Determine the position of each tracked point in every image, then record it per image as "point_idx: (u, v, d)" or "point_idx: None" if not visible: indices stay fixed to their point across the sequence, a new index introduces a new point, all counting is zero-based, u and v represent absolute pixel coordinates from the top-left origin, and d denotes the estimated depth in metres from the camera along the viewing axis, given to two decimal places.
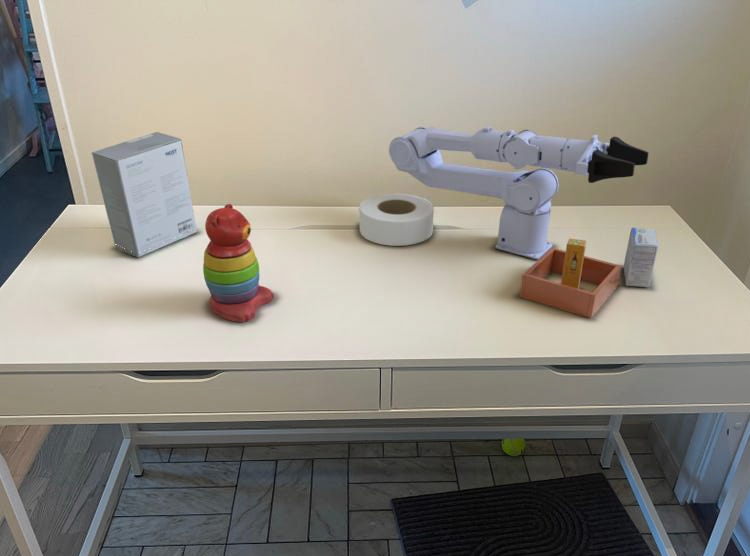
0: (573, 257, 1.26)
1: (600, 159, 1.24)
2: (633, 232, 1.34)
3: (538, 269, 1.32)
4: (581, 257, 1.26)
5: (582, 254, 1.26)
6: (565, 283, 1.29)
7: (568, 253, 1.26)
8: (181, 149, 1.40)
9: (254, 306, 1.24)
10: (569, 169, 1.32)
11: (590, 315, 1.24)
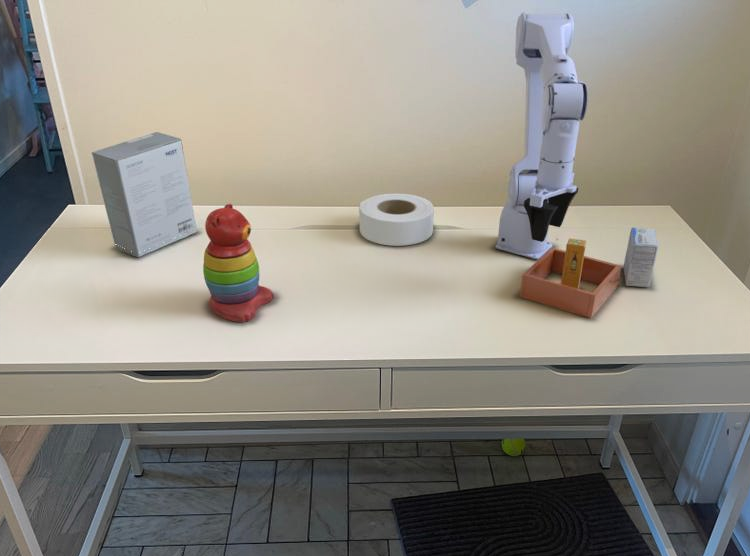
0: (573, 257, 1.26)
1: (546, 215, 1.21)
2: (633, 232, 1.34)
3: (538, 269, 1.32)
4: (581, 257, 1.26)
5: (582, 254, 1.26)
6: (565, 283, 1.29)
7: (568, 253, 1.26)
8: (181, 149, 1.40)
9: (254, 306, 1.24)
10: (540, 166, 1.21)
11: (590, 315, 1.24)
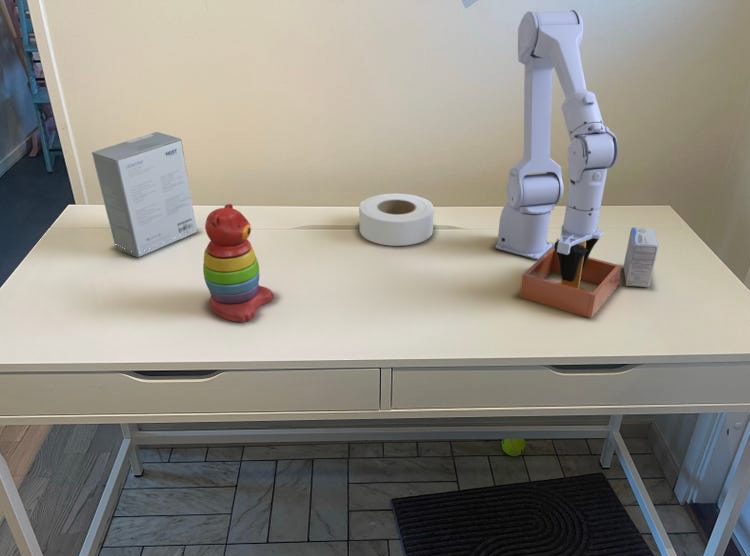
0: None
1: (576, 258, 1.23)
2: (633, 232, 1.34)
3: (538, 269, 1.32)
4: None
5: None
6: (565, 283, 1.29)
7: None
8: (181, 149, 1.40)
9: (254, 306, 1.24)
10: (566, 212, 1.23)
11: (590, 315, 1.24)
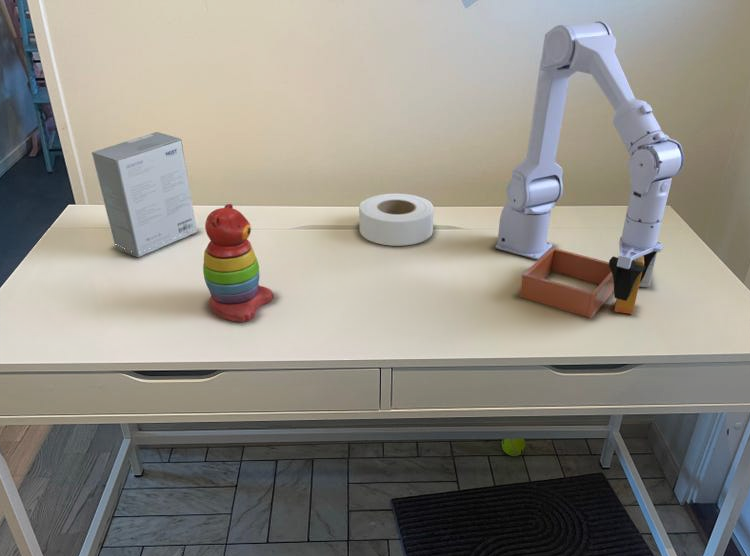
0: None
1: (633, 276, 1.17)
2: None
3: (538, 269, 1.32)
4: (639, 274, 1.21)
5: None
6: (621, 300, 1.24)
7: None
8: (181, 149, 1.40)
9: (254, 306, 1.24)
10: (626, 225, 1.17)
11: (590, 315, 1.24)
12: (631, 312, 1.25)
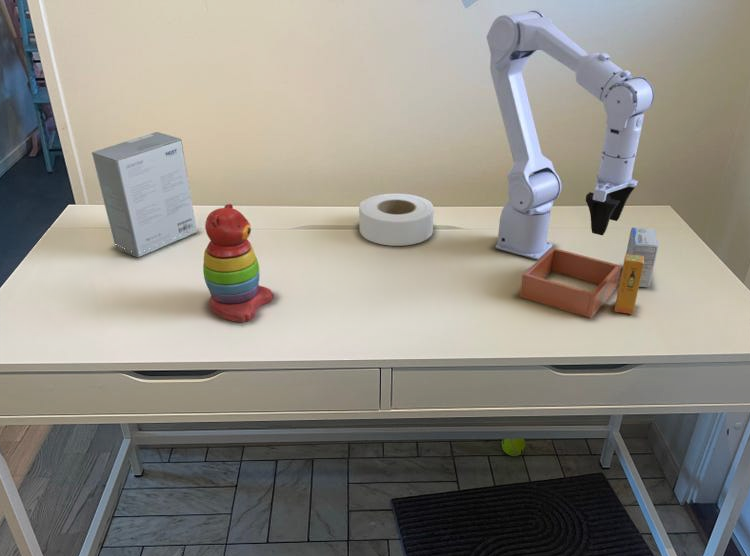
0: (630, 273, 1.22)
1: (608, 210, 1.23)
2: (633, 232, 1.34)
3: (538, 269, 1.32)
4: (639, 274, 1.21)
5: (641, 270, 1.21)
6: (621, 300, 1.24)
7: (626, 269, 1.21)
8: (181, 149, 1.40)
9: (254, 306, 1.24)
10: (602, 161, 1.24)
11: (590, 315, 1.24)
12: (631, 312, 1.25)
